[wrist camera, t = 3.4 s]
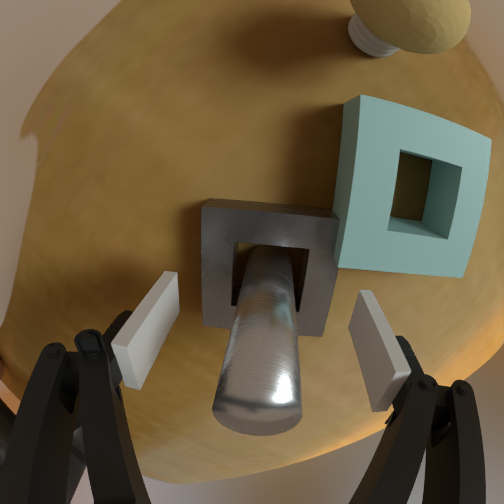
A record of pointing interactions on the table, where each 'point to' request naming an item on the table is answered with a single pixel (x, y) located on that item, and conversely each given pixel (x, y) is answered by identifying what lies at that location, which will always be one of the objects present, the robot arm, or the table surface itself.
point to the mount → (268, 233)
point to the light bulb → (408, 25)
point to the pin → (262, 351)
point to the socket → (383, 185)
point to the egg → (1, 368)
